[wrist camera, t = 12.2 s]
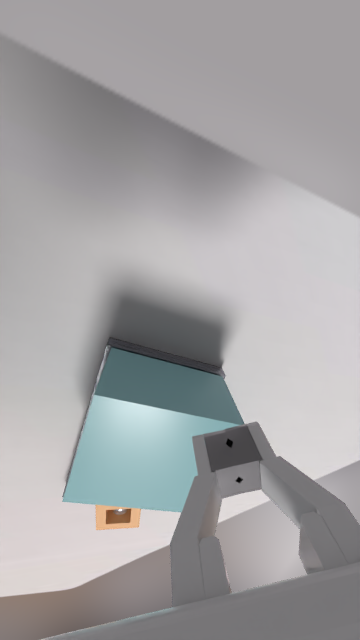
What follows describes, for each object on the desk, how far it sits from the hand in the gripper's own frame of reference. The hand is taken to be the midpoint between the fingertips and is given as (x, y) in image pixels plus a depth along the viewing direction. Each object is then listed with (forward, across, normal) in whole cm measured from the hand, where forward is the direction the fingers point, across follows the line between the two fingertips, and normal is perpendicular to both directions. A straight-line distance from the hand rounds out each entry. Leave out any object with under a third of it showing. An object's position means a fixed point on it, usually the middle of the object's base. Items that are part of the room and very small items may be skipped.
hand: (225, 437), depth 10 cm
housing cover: (+12, +6, +8) cm, 16 cm away
